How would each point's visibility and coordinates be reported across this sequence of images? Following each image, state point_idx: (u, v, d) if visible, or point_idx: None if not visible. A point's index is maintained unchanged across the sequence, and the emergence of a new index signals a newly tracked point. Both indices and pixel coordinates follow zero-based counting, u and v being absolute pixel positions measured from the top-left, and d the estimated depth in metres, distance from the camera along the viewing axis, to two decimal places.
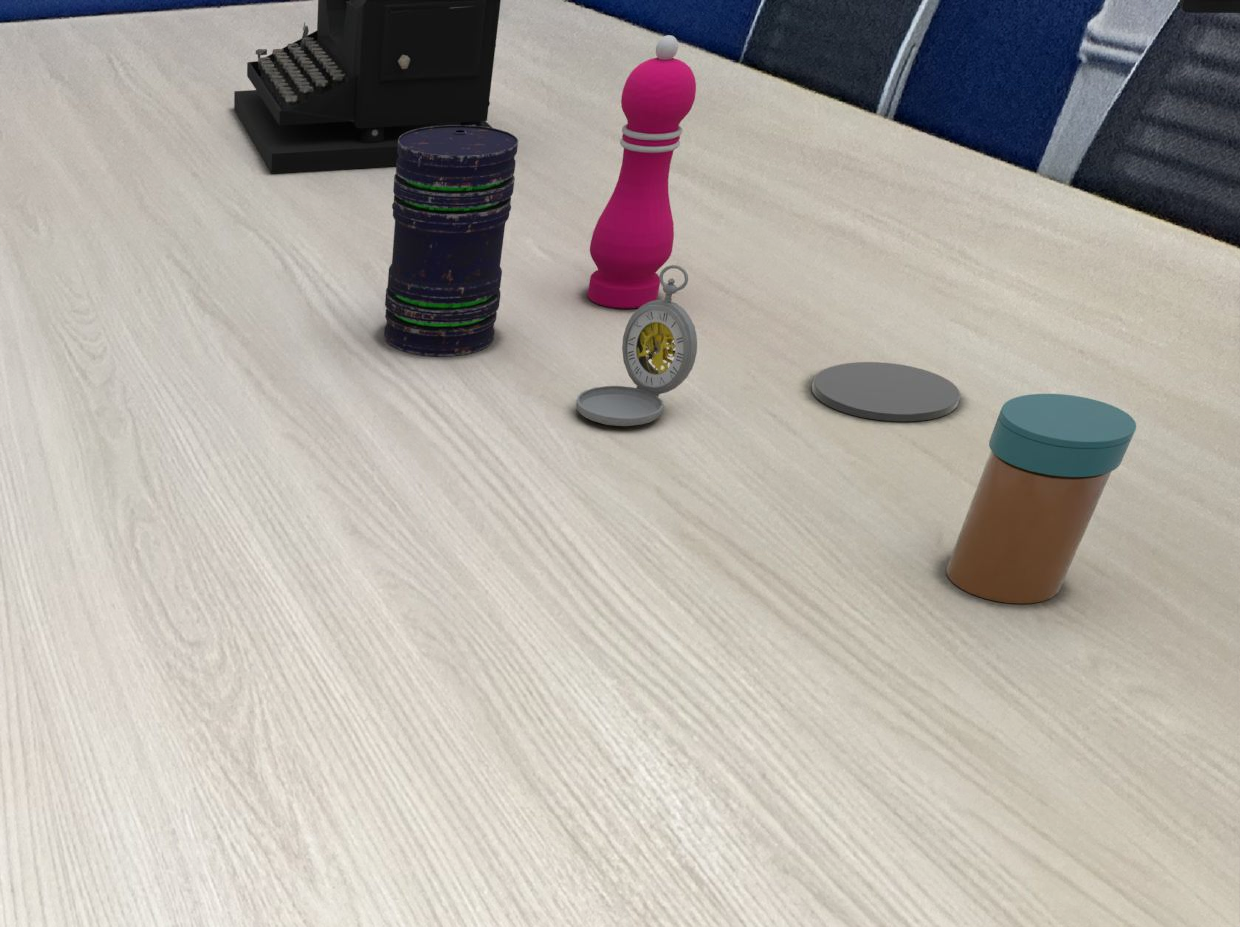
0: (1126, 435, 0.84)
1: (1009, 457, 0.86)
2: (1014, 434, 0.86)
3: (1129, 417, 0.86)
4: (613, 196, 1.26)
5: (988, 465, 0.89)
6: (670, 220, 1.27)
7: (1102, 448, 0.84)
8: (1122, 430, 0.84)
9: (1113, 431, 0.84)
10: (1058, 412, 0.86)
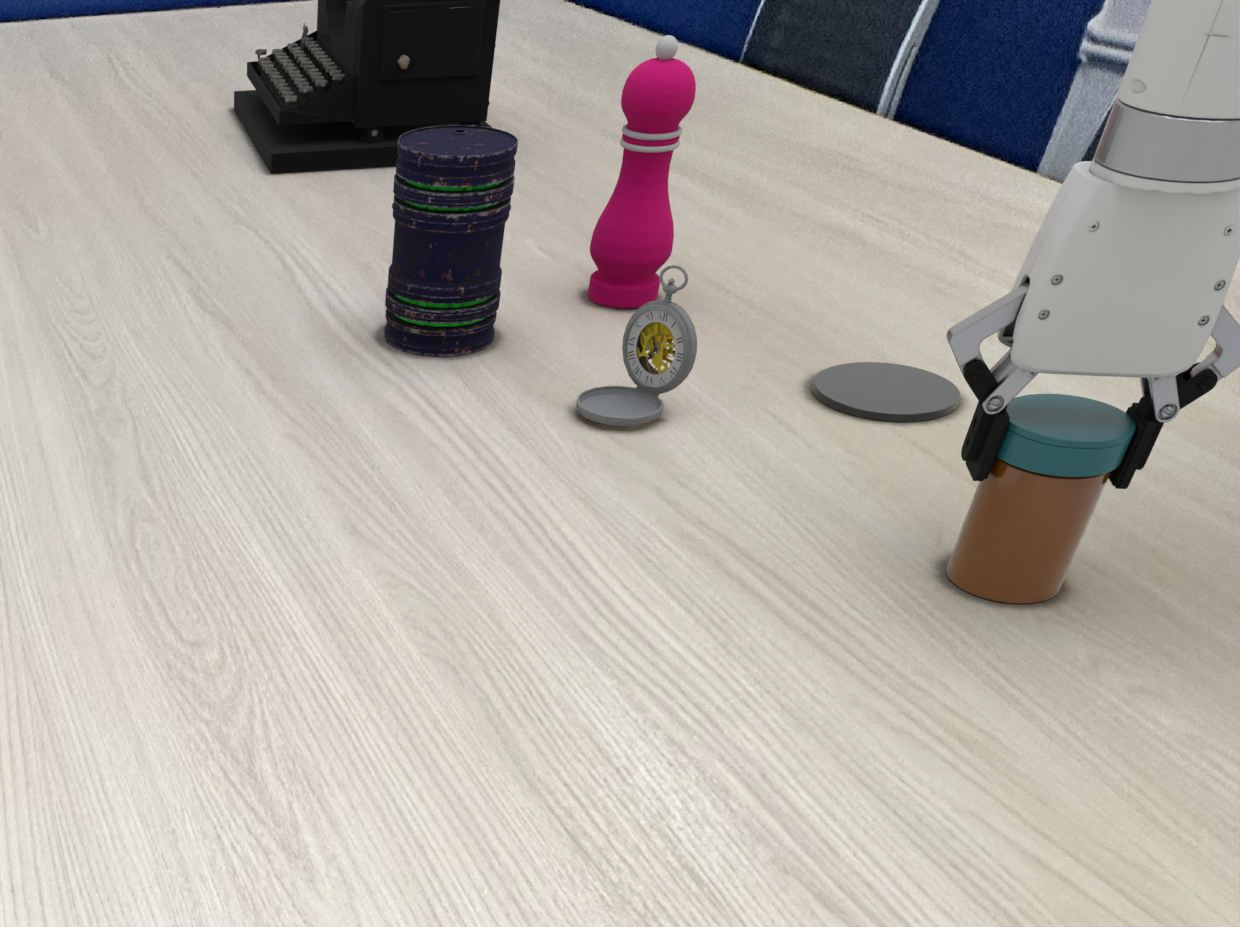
0: (1126, 435, 0.84)
1: (1009, 457, 0.86)
2: (1014, 434, 0.86)
3: (1129, 417, 0.86)
4: (613, 196, 1.26)
5: None
6: (670, 220, 1.27)
7: (1102, 448, 0.84)
8: (1122, 430, 0.84)
9: (1113, 431, 0.84)
10: (1058, 412, 0.86)
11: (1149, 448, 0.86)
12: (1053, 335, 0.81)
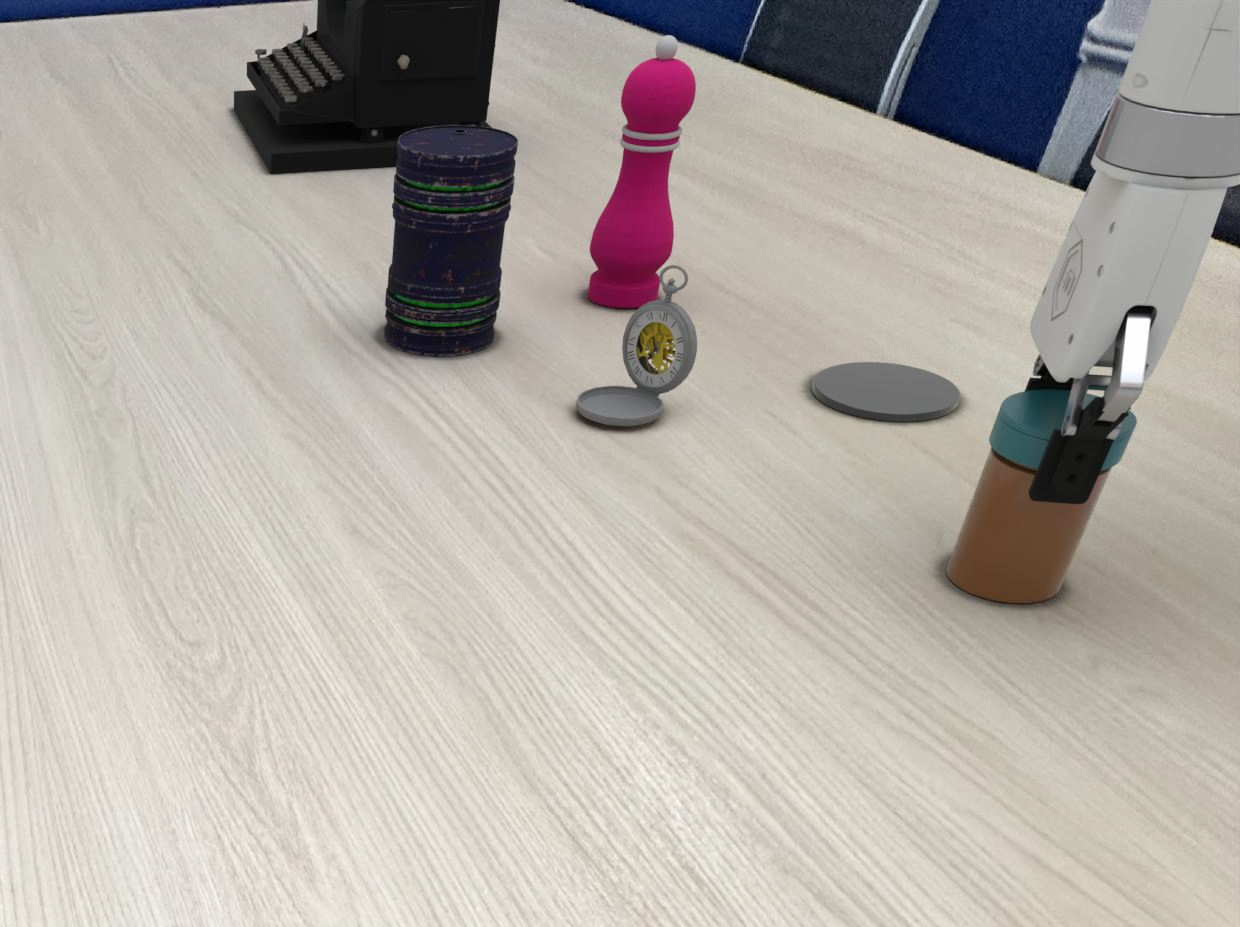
0: None
1: (1103, 465, 0.85)
2: None
3: (1051, 390, 0.88)
4: (613, 196, 1.26)
5: (987, 465, 0.89)
6: (670, 220, 1.27)
7: None
8: (1091, 397, 0.87)
9: None
10: (1058, 414, 0.86)
11: None
12: None
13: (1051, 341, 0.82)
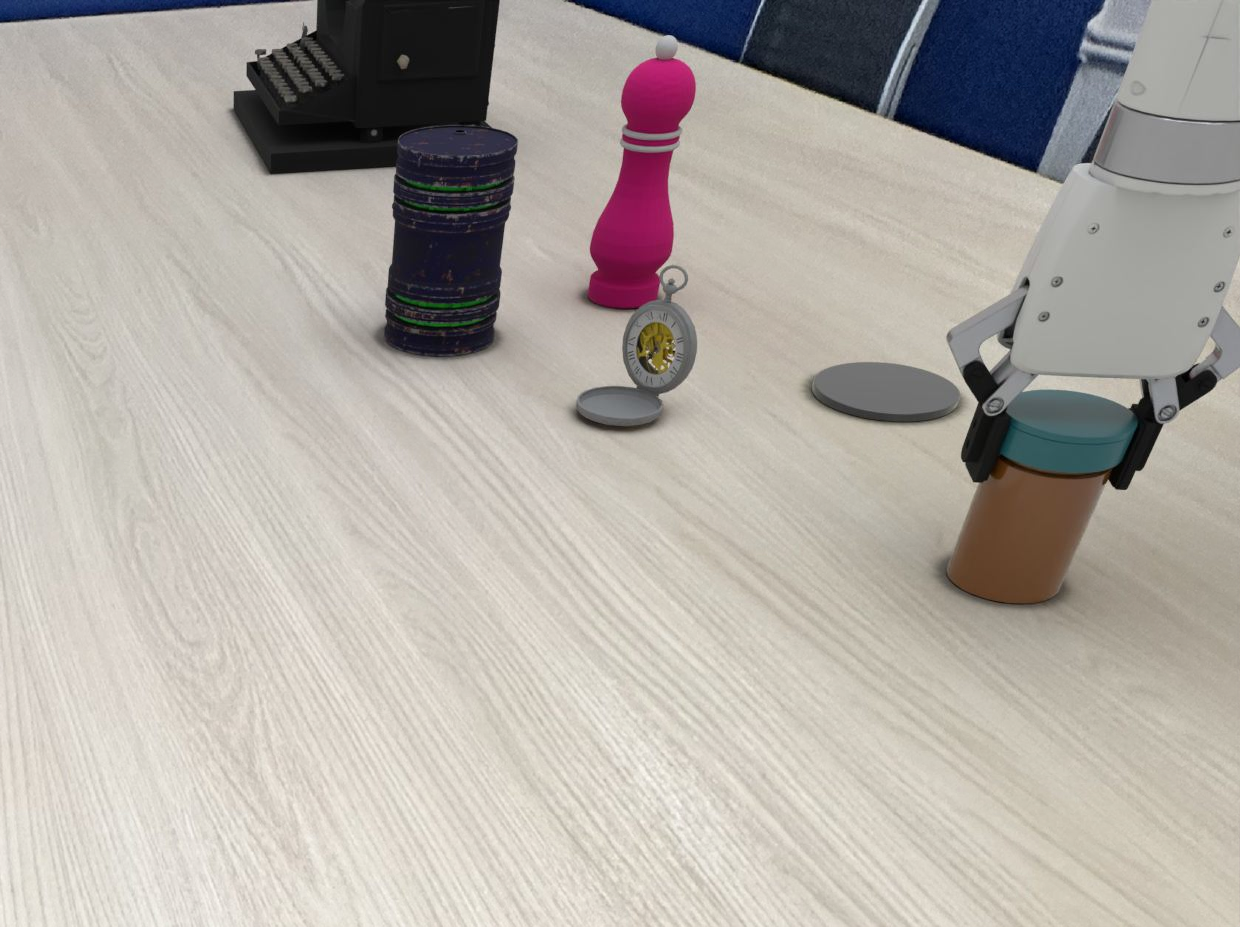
0: None
1: (1106, 465, 0.85)
2: (1112, 444, 0.84)
3: (1051, 390, 0.88)
4: (613, 196, 1.26)
5: None
6: (670, 220, 1.27)
7: None
8: (1091, 397, 0.87)
9: (1096, 401, 0.87)
10: (1060, 414, 0.86)
11: (1149, 449, 0.86)
12: (1053, 337, 0.81)
13: None
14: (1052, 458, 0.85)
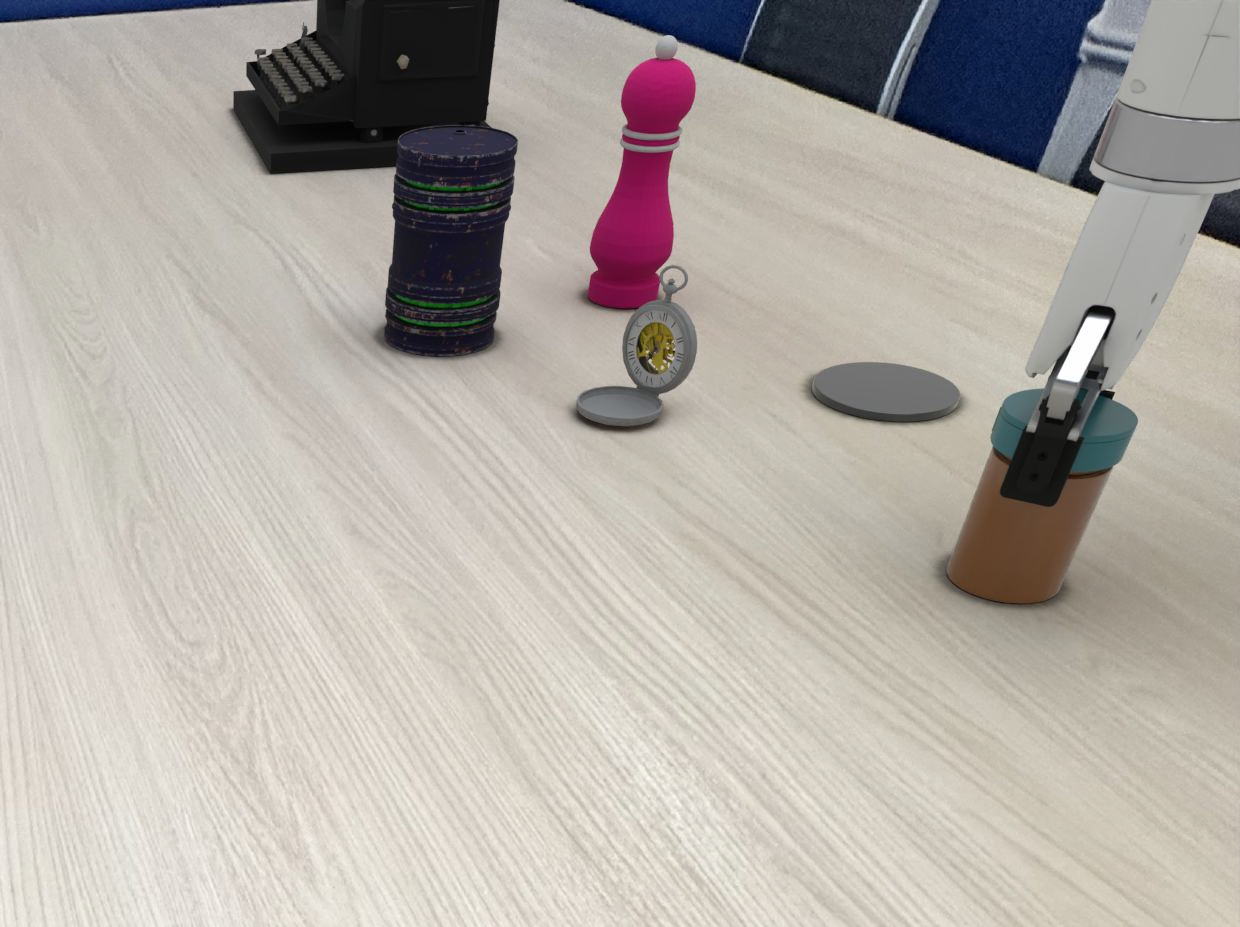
0: (1034, 389, 0.88)
1: None
2: None
3: (1007, 400, 0.87)
4: (613, 196, 1.26)
5: (988, 465, 0.89)
6: (670, 220, 1.27)
7: None
8: (1032, 392, 0.88)
9: None
10: None
11: None
12: (1135, 349, 0.80)
13: None
14: (1117, 454, 0.85)
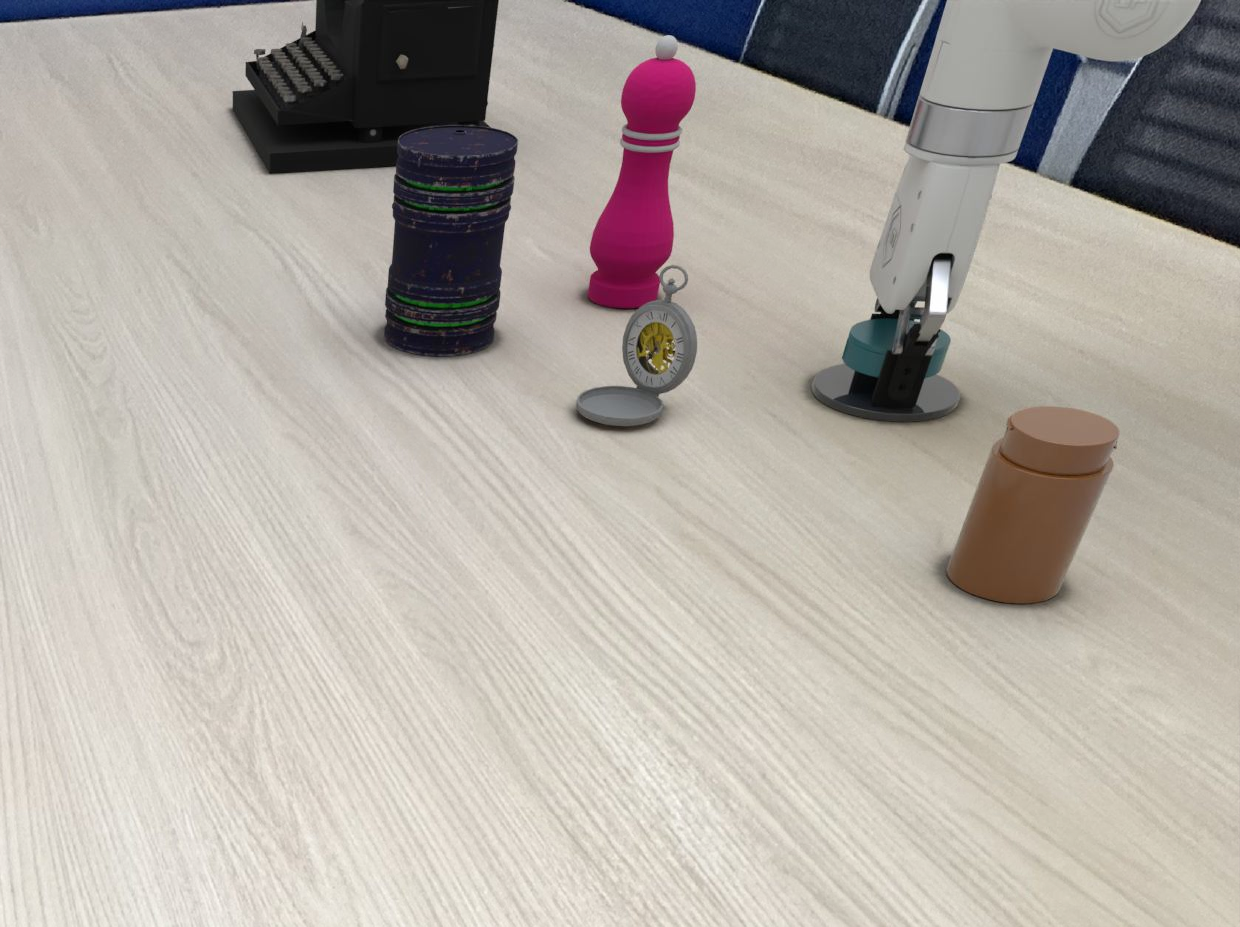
0: (860, 322, 1.14)
1: None
2: None
3: (853, 333, 1.12)
4: (613, 196, 1.26)
5: (988, 465, 0.89)
6: (670, 220, 1.27)
7: None
8: (862, 325, 1.14)
9: (869, 325, 1.14)
10: None
11: None
12: None
13: (882, 283, 1.08)
14: (943, 361, 1.12)
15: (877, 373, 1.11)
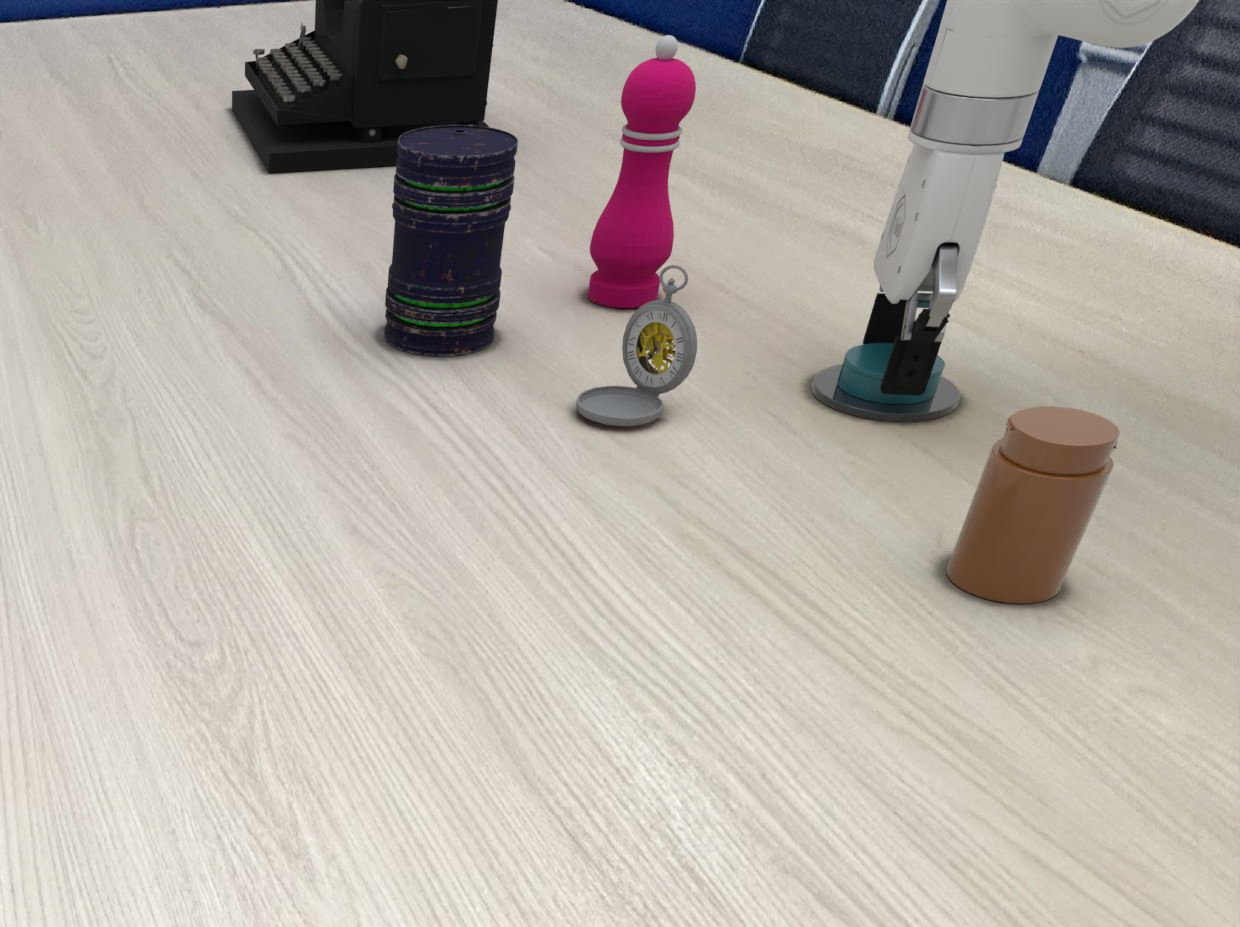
0: (856, 346, 1.15)
1: None
2: None
3: (848, 358, 1.13)
4: (613, 196, 1.26)
5: (988, 465, 0.89)
6: (670, 220, 1.27)
7: None
8: (857, 349, 1.15)
9: (864, 349, 1.15)
10: None
11: None
12: None
13: (886, 273, 1.08)
14: (937, 385, 1.13)
15: (872, 397, 1.12)
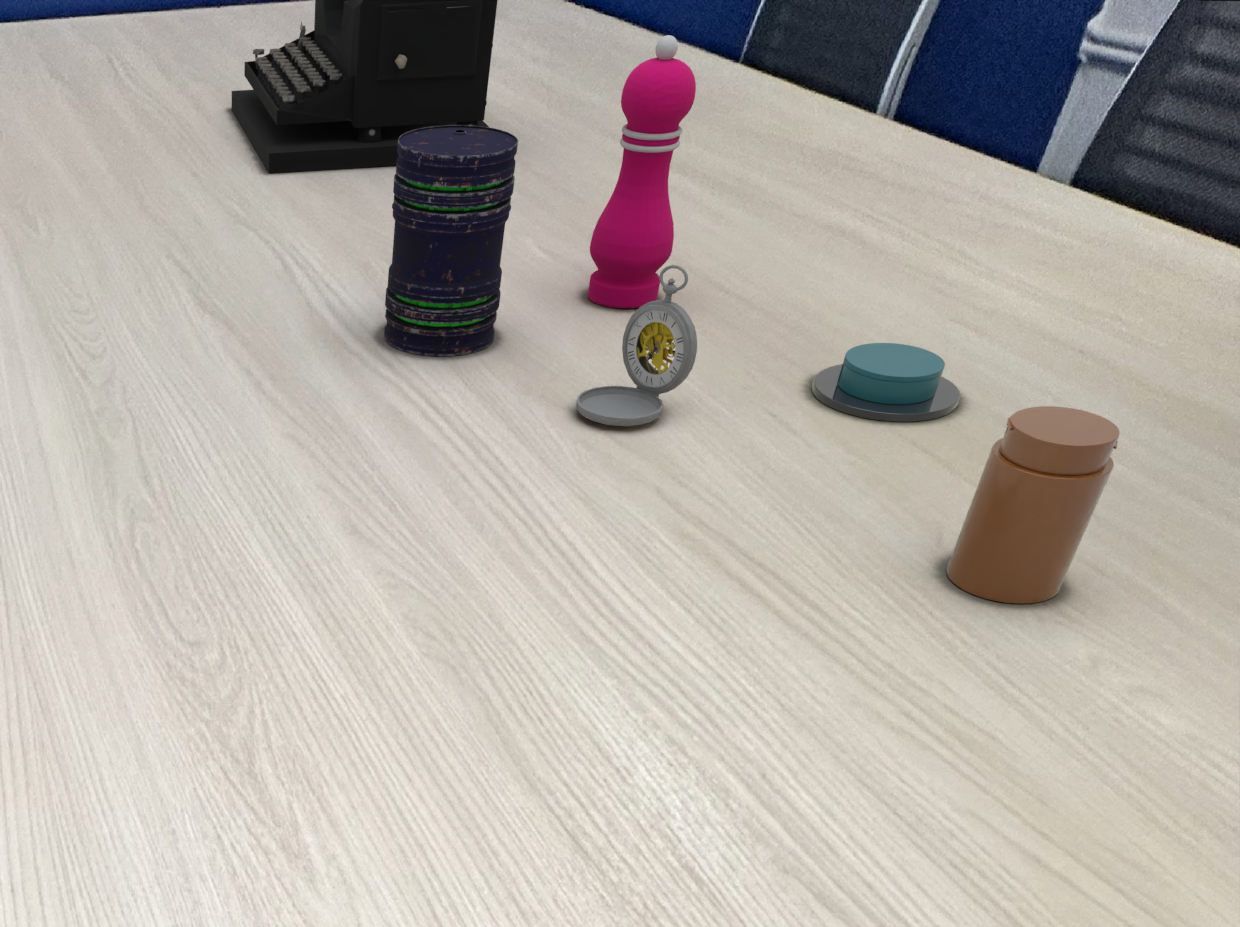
0: (856, 346, 1.15)
1: None
2: None
3: (848, 358, 1.13)
4: (613, 196, 1.26)
5: (988, 465, 0.89)
6: (670, 220, 1.27)
7: None
8: (857, 349, 1.15)
9: (864, 349, 1.15)
10: (901, 362, 1.13)
11: None
12: None
13: None
14: (937, 385, 1.13)
15: (872, 397, 1.12)
